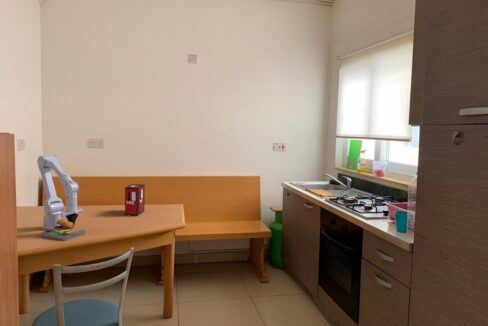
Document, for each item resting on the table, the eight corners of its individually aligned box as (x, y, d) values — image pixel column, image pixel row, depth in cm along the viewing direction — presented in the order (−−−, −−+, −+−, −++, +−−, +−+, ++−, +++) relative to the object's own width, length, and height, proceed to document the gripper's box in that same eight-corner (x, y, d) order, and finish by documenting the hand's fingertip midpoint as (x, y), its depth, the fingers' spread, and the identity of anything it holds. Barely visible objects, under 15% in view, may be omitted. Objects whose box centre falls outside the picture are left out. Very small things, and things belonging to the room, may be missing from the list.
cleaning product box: (132, 210, 278) (132, 183, 276) (144, 211, 278) (144, 184, 276) (124, 215, 261) (125, 187, 259) (137, 216, 261) (137, 188, 259)
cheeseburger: (46, 235, 210) (50, 217, 211) (65, 236, 218) (68, 219, 219) (56, 238, 204) (60, 220, 205) (74, 239, 212) (78, 221, 214)
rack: (41, 236, 208) (41, 231, 208) (62, 230, 222) (62, 225, 222) (64, 240, 202) (64, 235, 202) (84, 233, 216) (84, 228, 216)
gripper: (67, 206, 208) (67, 230, 210) (86, 202, 222) (86, 224, 223) (57, 205, 211) (57, 229, 212) (77, 200, 224) (77, 223, 226)
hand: (71, 226), depth 218 cm, fingers closed
